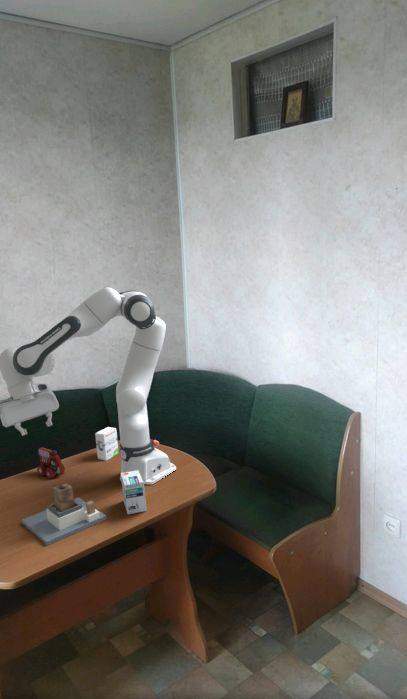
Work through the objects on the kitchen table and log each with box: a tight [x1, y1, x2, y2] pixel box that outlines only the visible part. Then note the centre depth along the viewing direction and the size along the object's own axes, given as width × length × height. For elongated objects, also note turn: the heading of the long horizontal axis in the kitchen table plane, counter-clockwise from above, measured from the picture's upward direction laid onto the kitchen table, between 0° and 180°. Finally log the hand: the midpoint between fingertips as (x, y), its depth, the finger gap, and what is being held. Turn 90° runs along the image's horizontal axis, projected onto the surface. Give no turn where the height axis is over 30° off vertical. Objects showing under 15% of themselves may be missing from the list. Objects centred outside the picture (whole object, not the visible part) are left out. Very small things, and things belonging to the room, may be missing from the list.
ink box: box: [94, 426, 120, 461], centre depth 226 cm, size 9×5×12 cm, turn 150°
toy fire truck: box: [36, 447, 66, 479], centre depth 212 cm, size 7×12×10 cm, turn 54°
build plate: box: [20, 497, 107, 546], centre depth 175 cm, size 21×19×7 cm
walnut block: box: [52, 482, 75, 512], centre depth 173 cm, size 4×4×8 cm
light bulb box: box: [120, 470, 148, 515], centre depth 182 cm, size 11×7×11 cm, turn 17°
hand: (37, 430), depth 184 cm, fingers open, 8 cm apart
